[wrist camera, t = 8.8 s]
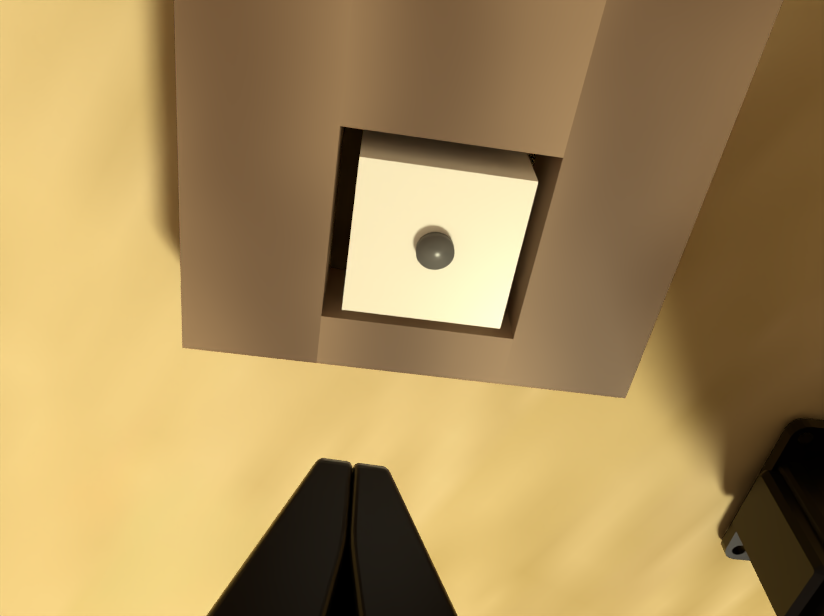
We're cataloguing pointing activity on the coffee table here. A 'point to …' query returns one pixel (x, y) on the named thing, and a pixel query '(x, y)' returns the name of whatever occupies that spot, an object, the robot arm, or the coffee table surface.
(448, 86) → the button panel
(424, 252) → the button one
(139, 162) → the coffee table surface
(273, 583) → the robot arm
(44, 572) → the coffee table surface
